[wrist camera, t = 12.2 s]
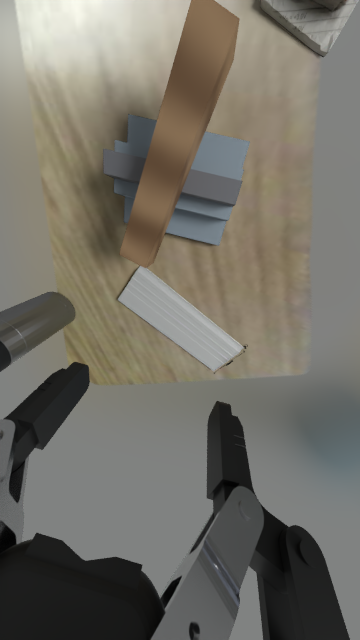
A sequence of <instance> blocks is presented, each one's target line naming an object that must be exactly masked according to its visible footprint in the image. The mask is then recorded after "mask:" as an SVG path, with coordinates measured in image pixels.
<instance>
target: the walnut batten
mask: <svg viewBox="0 0 360 640" xmlns="http://www.w3.org/2000/svg"><path fill="white" fill-rule="evenodd" d="M238 25H239V18H238V17H237V16H235V15H234V14H232V13H231V12H229V11H228V10H227V9H225V8H224V7H222V6H221V5H220V4H218V3H217V2H215V1H214V0H191V3H190V7H189V10H188V14H187V17H186V21H185V24H184V28H183V31H182V35H181V38H180V42H179V45H178V49H177V53H176V56H175V60H174V63H173V67H172V70H171V74H170V77H169V81H168V84H167V88H166V91H165V95H164V98H163V102H162V105H161V109H160V112H159V116H158V119H157V123H156V126H155V130H154V133H153V137H152V140H151V144H150V147H149V151H148V155H147V158H146V162H145V165H144V169H143V172H142V176H141V179H140V183H139V186H138V190H137V193H136V197H135V200H134V204H133V207H132V211H131V214H130V218H129V221H128V225H127V228H126V232H125V235H124V239H123V242H122V246H121V249H120V253H119V255H121V256H123V257H125V258H127V259H129V260H130V261H132V262H134V263H136V264H138V265H140V266H142V267H144V268H147V267H148V266H150V265H151V264H153V263H154V260H155V257H156V255H157V252H158V250H159V247H160V245H161V242H162V240H163V237H164V235H165V232H166V230H167V227H168V225H169V222H170V219H171V217H172V214H173V212H174V209H175V207H176V204H177V202H178V199H179V197H180V194H181V192H182V189H183V187H184V184H185V181H186V179H187V176H188V174H189V171H190V169H191V166H192V164H193V161H194V159H195V156H196V154H197V151H198V149H199V146H200V144H201V141H202V138H203V136H204V133H205V131H206V128H207V126H208V123H209V121H210V118H211V116H212V113H213V111H214V108H215V106H216V103H217V100H218V98H219V95H220V93H221V90H222V88H223V85H224V83H225V80H226V78H227V75H228V73H229V70H230V68H231V65H232V62H233V60H234V53H235V46H236V39H237V32H238Z"/></svg>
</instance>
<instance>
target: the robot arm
mask: <svg viewBox="0 0 360 640" xmlns="http://www.w3.org/2000/svg"><path fill="white" fill-rule="evenodd" d="M74 318H75V310H74V307H73V305H72V304H71V302H70V301H69V300H68V299H67V298H66V297H65V296H63V295H61V294H59V293H56V292H47V293H45V294H42V295H40V296H38V297H35V298H33V299H30V300H28V301H25V302H23V303H21V304H19V305H16V306H14V307H11V308H9V309H7V310H4V311H2V312H0V372H1V371H2V370H3V369H5V368H6V367H8V366H9V365H11V364H12V363H13V362H15V361H16V360H18V359H19V358H21V357H22V356H23V355H25V354H26V353H28V352H29V351H30V350H32V349H33V348H35V347H36V346H38V345H39V344H40V343H42V342H43V341H45V340H46V339H48V338H49V337H50V336H52V335H53V334H55V333H56V332H57V331H59V330H61V329H62V328H64V327H65V326H66V325H68V324H69V323H71V322H72V321H73V320H74ZM89 382H90V380H89V367H88V365H85V364H81V363H78V362H74V363H72V364H71V365H70V366H69V367H68V368H67V369H63V368H62V369H61V370H58V371H57V372H55V373H53V374H52V375H51V376H50V377H49V378H47V379H46V380H45V381H44V383H42V384H41V385H40V386H39V387H38V388H37V390H35V391H34V392H33V393H32V394H30V395H29V396H28V397H27V398H26V399H25V400H24V401H23V402H22V403H21V404H20V405H19V406H18V407H17V408H16V409H15V410H14V411H13V412H11V413H10V414H9V415H8V416H7V417H6V418H4V419H3V420H0V640H228V639H229V637H230V634H231V631H232V628H233V626H234V623H235V620H236V617H237V613H238V609H239V604H240V598H239V592H240V588H241V585H242V582H243V579H244V577H245V574H246V571H247V569H248V566H250V567H251V568H252V569H253V570H254V571H256V572H257V581H258V591H259V601H260V611H261V621H262V631H263V640H350V638H349V635H348V632H347V629H346V626H345V623H344V619H343V616H342V613H341V610H340V606H339V603H338V600H337V597H336V594H335V590H334V587H333V584H332V581H331V577H330V575H329V571H328V568H327V565H326V561H325V558H324V556H323V554H322V551H321V549H320V548H319V546H318V544H317V543H316V541H315V540H314V538H313V537H312V536H311V535H310V534H309V533H308V532H307V531H306V530H305V529H303V528H302V527H300V526H296V525H293V526H291V527H288V526H287V525H285V524H284V523H282V522H281V521H280V520H278V519H277V518H276V517H274V516H273V515H272V514H270V513H269V512H268V511H267V510H266V509H265V508H264V507H263V506H262V505H261V504H260V502H259V500H258V499H257V497H256V495H255V493H254V490H253V487H252V482H251V476H250V469H249V463H248V458H247V452H246V445H245V440H244V432H243V427H242V425H241V423H240V421H239V419H238V417H236V416H233V415H232V413H231V406H230V404H227V403H223V402H219V401H217V402H216V404H215V406H214V407H213V409H212V412H211V414H210V416H209V420H208V436H207V439H208V440H207V498H208V499H211V500H213V507H214V508H213V509H214V510H213V512H212V514H211V515H210V517H209V518H208V520H207V522H206V523H205V525H204V527H203V529H202V530H201V532H200V534H199V535H198V537H197V538H196V540H195V542H194V544H193V545H192V547H191V549H190V550H189V552H188V553H187V555H186V556H185V558H184V559H183V560H182V562H181V563H180V565H179V566H178V568H177V570H176V571H175V572H174V574H173V576H172V577H171V579H170V581H169V582H168V584H167V586H166V587H165V589H164V591H163V592H162V594H161V595H160V597H159V595H158V593H157V591H156V589H155V587H154V586H153V584H152V582H151V580H150V579H149V578H148V577H147V575H146V574H145V573H143V572H142V571H141V569H142V565H141V564H138V563H134V562H131V561H128V560H125V559H122V558H118V557H112V558H104V559H97V560H89V561H85V560H83V559H81V558H80V557H79V556H78V555H77V554H75V552H74V551H73V550H72V549H71V548H70V547H69V546H67V545H66V544H65V543H64V542H63V541H62V540H58V539H56V538H52V537H49V536H46V535H42V534H39V533H36V534H35V536H34V538H33V539H32V540H28V541H24V542H21V541H22V534H23V525H24V512H23V497H24V490H25V482H26V475H27V467H28V460H29V454H30V453H31V452H32V451H33V449H34V448H38V449H41V450H43V449H44V447H45V446H46V445H47V443H48V442H49V441H50V439H51V438H52V437H53V435H54V434H55V432H56V431H57V430H58V428H59V427H60V426H61V424H62V423H63V422H64V420H65V419H66V418H67V416H68V415H69V414H70V412H71V411H72V409H73V408H74V407H75V406H76V404H77V403H78V402H79V400H80V399H81V397H82V396H83V395H84V393H85V392H86V391H87V389H88V386H89Z"/></svg>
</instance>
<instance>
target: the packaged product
mask: <svg viewBox="0 0 360 640" xmlns="http://www.w3.org/2000/svg"><path fill="white" fill-rule="evenodd" d="M358 1H359V0H261V8H262V9H263V10H264V11H265V12H266V13H267V14H269V15H270V16H271V17H272V18H274V19H275V20H276V21H277V22H279V23H280V24H281V25H282V26H284V27H285V28H286V29H287V30H288V31H290V32H291V33H292V34H293V35H295V36H296V37H297V38H298V39H299V40H301V41H302V42H303V43H304V44H306V45H307V46H308V47H309V48H311V49H312V50H313V51H315V52H317V53H318V54H320V55H321V57H323V58H324V57H325V55H326V54H327V53H328V52H329V50H330V48H331V47H332V45H333V43H334V42H335V40H336V38H337V37H338V35H339V33H340V31H341V30H342V28H343V26H344V24H345V23H346V21H347V20H348V18H349V16H350V14H351V12H352V11H353V9H354V7H355V6H356V4H357V2H358Z"/></svg>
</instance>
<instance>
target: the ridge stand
mask: <svg viewBox="0 0 360 640" xmlns="http://www.w3.org/2000/svg"><path fill="white" fill-rule="evenodd" d="M156 123H157V121H156V120H152V119H148V118H143V117H139V116H134V115H130V114H128V137H127V143H126V142H122V141H118V140H115V151H112V150H108V149H103V164H104V174H106V175H108V176H110V177H112V178H114V193H116V194H119V195H122V196H125V208H124V222H125V223H128V221H129V218H130V214H131V211H132V207H133V204H134V200H135V197H136V193H137V190H138V186H139V183H140V179H141V176H142V172H143V169H144V165H145V162H146V158H147V155H148V151H149V147H150V144H151V140H152V137H153V133H154V130H155V126H156ZM249 143H250V142H249V141H245V140H240V139H236V138H232V137H227V136H223V135H218V134H214V133H209V132H205V133H204V136H203V138H202V141H201V144H200V146H199V149H198V151H197V154H196V156H195V159H194V161H193V164H192V166H191V169H190V171H189V174H188V176H187V179H186V181H185V184H184V187H183V189H182V192H181V194H180V197H179V199H178V202H177V204H176V207H175V209H174V212H173V214H172V217H171V219H170V222H169V225H168V227H167V230H166V233H170V234H174V235H178V236H182V237H186V238H190V239H194V240H198V241H202V242H206V243H210V244H215V245H219V244H220V241H221V237H222V234H223V231H224V227H225V224H226V221H228V220H229V217H230V214H231V211H232V207H233V206H234V205H235V204H236V201H237V197H238V194H239V191H240V188H241V184H242V181H241V178H242V174H243V171H244V170H243V169H242V167H243V163H244V160H245V157H246V153H247V150H248V147H249Z"/></svg>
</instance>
